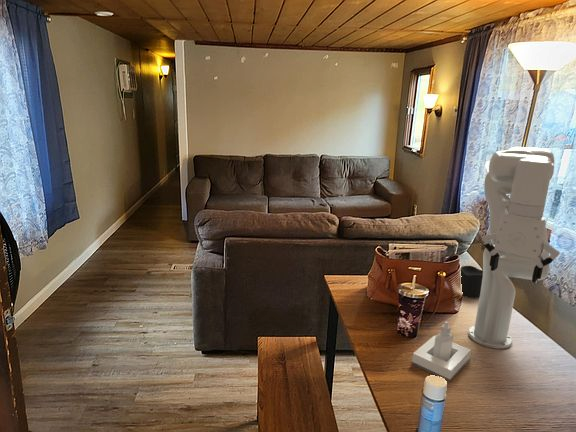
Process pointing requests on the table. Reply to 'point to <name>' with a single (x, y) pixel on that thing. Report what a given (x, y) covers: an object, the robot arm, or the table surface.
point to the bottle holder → (440, 367)
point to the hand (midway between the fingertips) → (513, 274)
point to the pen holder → (471, 281)
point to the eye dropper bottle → (443, 343)
